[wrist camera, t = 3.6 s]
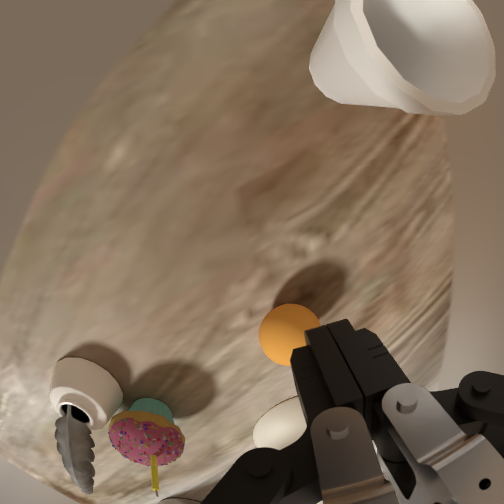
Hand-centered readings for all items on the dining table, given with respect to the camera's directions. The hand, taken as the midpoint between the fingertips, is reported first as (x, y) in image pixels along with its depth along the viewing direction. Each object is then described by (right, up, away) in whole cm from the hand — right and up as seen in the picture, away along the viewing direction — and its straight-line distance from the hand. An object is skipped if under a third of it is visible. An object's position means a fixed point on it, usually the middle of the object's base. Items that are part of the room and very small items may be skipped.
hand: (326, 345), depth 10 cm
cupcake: (-14, -15, +22) cm, 31 cm away
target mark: (+5, -20, +25) cm, 32 cm away
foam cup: (+5, +19, +12) cm, 23 cm away
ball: (+1, -4, +17) cm, 17 cm away
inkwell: (-22, -16, +22) cm, 35 cm away
